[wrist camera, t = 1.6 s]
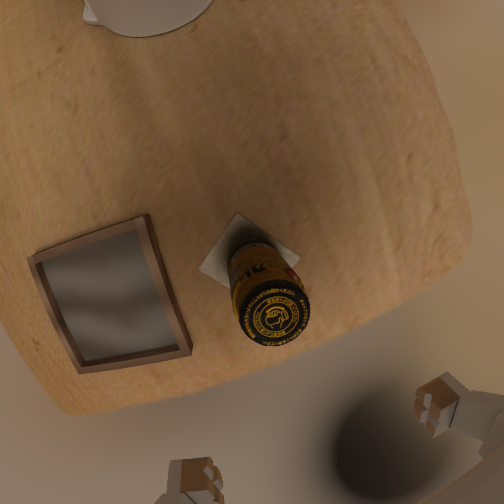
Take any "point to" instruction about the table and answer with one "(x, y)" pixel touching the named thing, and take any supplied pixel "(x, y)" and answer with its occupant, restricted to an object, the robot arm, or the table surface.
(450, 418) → the robot arm
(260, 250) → the condiment
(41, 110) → the table surface
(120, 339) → the square wooden tray
